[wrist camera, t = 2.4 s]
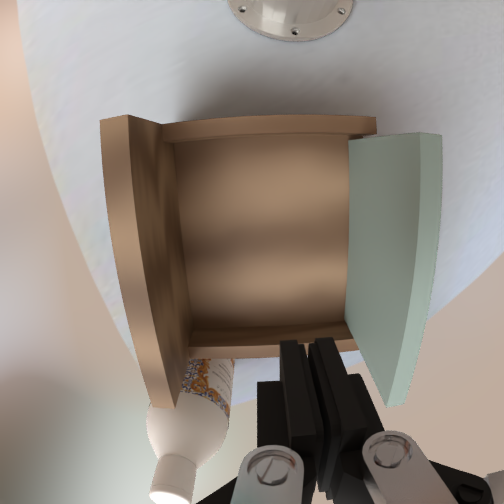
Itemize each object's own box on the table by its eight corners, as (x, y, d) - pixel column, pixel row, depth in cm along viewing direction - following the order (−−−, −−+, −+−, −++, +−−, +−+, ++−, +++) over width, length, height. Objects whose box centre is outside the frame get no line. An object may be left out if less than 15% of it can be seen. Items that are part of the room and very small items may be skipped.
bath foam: (247, 358, 35) (240, 514, 16) (197, 378, 36) (164, 521, 17) (215, 311, 33) (177, 471, 14) (164, 335, 34) (101, 479, 15)
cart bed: (172, 134, 28) (99, 120, 14) (341, 127, 27) (416, 106, 13) (190, 309, 33) (152, 407, 19) (340, 302, 33) (388, 396, 18)
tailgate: (348, 140, 22) (419, 132, 11) (370, 141, 22) (452, 136, 11) (344, 318, 26) (386, 407, 16) (363, 316, 26) (412, 402, 16)
